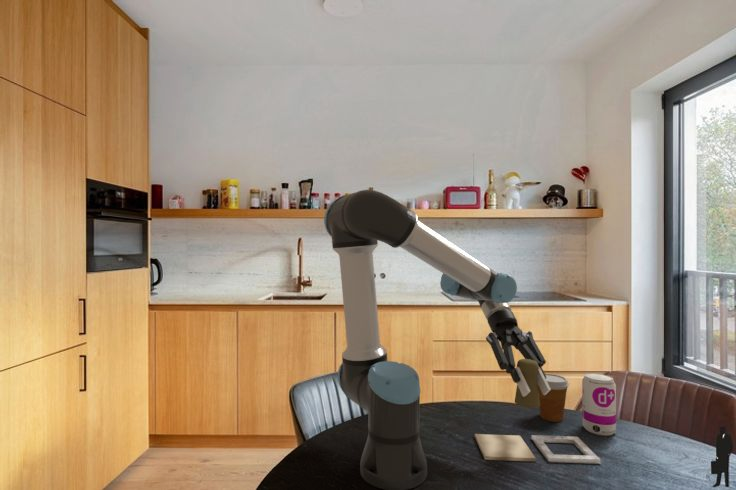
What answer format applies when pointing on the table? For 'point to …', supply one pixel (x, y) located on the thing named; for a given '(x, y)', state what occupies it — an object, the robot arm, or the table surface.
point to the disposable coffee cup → (553, 398)
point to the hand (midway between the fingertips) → (536, 393)
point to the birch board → (504, 447)
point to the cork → (529, 373)
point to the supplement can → (599, 404)
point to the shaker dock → (586, 458)
